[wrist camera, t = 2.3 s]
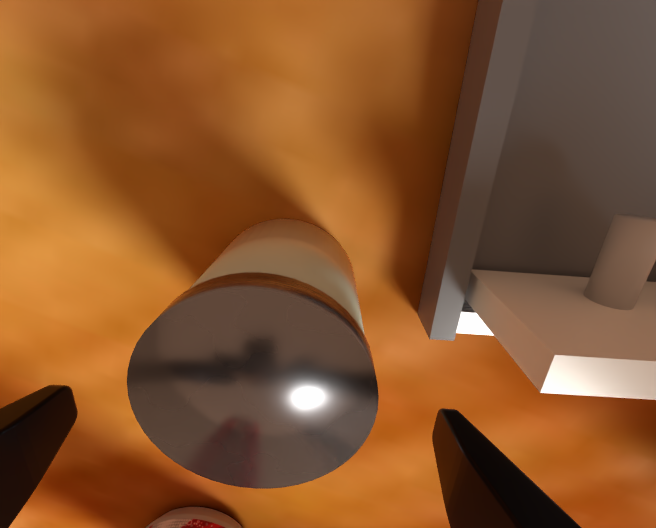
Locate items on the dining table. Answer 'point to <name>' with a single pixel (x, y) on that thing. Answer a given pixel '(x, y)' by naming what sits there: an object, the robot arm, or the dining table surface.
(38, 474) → the robot arm
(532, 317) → the pusher
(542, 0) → the lane
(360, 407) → the jar
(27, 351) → the dining table surface
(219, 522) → the soda can
